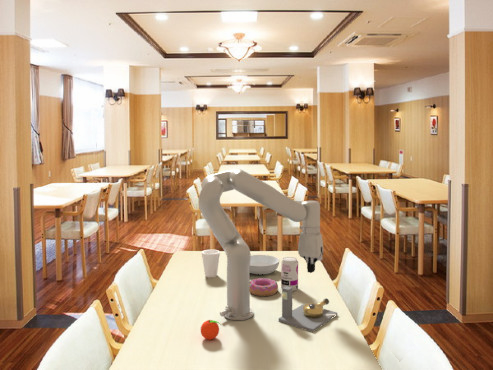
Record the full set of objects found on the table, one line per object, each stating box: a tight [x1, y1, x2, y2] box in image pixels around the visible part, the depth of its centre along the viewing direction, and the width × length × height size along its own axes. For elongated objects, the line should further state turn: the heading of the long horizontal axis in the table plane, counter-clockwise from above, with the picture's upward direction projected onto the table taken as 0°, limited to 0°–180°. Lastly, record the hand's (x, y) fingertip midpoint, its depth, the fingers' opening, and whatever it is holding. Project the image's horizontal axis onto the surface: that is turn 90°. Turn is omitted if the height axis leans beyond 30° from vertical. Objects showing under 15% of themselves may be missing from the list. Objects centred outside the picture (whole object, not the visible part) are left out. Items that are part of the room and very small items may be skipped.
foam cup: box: [201, 249, 221, 278], centre depth 238 cm, size 10×9×13 cm
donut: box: [250, 277, 279, 297], centre depth 215 cm, size 14×14×5 cm
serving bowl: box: [250, 254, 280, 276], centre depth 244 cm, size 21×21×7 cm
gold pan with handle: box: [303, 298, 330, 318], centre depth 188 cm, size 16×8×4 cm, turn 141°
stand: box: [278, 286, 338, 332], centre depth 183 cm, size 20×17×13 cm
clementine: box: [200, 319, 222, 341], centre depth 166 cm, size 8×7×7 cm
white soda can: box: [280, 256, 299, 292], centre depth 218 cm, size 8×8×15 cm
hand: (311, 271), depth 192 cm, fingers closed
